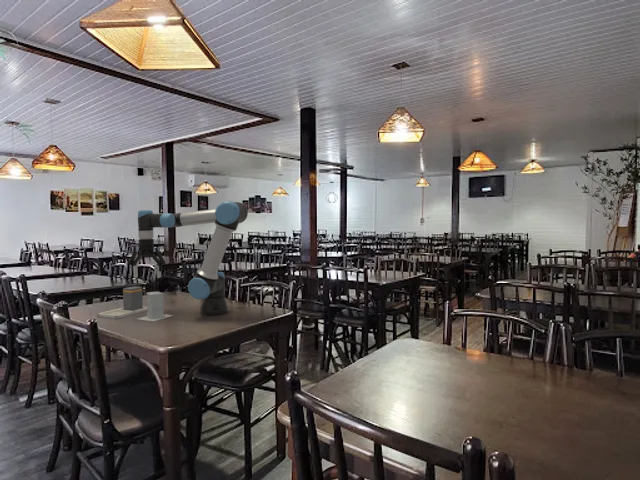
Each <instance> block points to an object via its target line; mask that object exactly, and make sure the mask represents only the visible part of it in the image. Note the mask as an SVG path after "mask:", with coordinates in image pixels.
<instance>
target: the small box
mask: <svg viewBox="0 0 640 480" xmlns="http://www.w3.org/2000/svg"><path fill="white" fill-rule="evenodd" d="M146 307H147V311H146V316H147V317H149V318H151V319H156V318H162V317H164V293H163V292H160V291H149V292H146Z"/></svg>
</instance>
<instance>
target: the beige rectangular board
mask: <svg viewBox="0 0 640 480" xmlns="http://www.w3.org/2000/svg"><path fill="white" fill-rule="evenodd" d="M142 313H147V306H144V305H143V309H139V310H135V311H129V310H124V306H123V307H120V308H114V309H110V310H107V311H103V312H99V313H96V317H97V318H104V319H110V320H119V319H122V318H126V317H130V316H134V315H138V314H142Z"/></svg>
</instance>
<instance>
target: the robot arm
mask: <svg viewBox="0 0 640 480" xmlns="http://www.w3.org/2000/svg"><path fill="white" fill-rule="evenodd" d="M248 212H249V211H248V208H247V206H245V204H244V203H242V202H240V201H239V202H238V201H230V200H227V201H222V202H220V203H219V204H218V205H217V206H216V208H213V209H212V208H211V209H203V210H196V211H186V212H179V213H177V212H176V213H167V212H165V213H154V212H153V210H152V209H151V210H150V209H146V210H145V209H143V210H138V211H137V223H138V224H137V226H138V232H137V233H138V247H133V249H132V250H133V251H132V254H131V255H130V259H129V260H128V265H130V266H131V272H133V278H134V279H136V278H138V276H139V273H138V268H139V267H138V265H137V264H138V263H139V261H140V260H141V259H142V258H143V257H145V256H146V257H151V259H153V261H154V262H155V263H156V264H157V266H156V278H157V279H160V278H162V272H163V265H165V264H166V263H167V262H166V261H165V258H164V256H163V255H162V252H161V249H160V247H159V246H158V247H155V241H154V228H161V229H162V228H165V229H168V228H180V227H186V226H187V227H188V226H196V225H204V224H205V225H207V224H215V229H214V232H213V234H212V238H211V240H210V243H209V246H208V249H207V252H206V254H205V256H204V258H203V259H204V260H203V262H202V265H201V267H200V268H199V269H197V270H196V273H195V275H194V277H193V278H191V279H190V280H189V282H188V285H187V290H188V292H189V293H188V294H189V295H190V296H191V297H192V298H193V299H195V300H200V301H201V300H202V303H201V306H200V314H201V315H204V316H205V315H206V316H218V315H223V314H227V313H228V312H229V306H228V304H227V300H226V288H225V287H226V281H225V280H226V277H225V272H223V271H219V269H220V266H221V263H222V261H223V258H224V255H225V252H226V250H227V247H228V245H229V242H230V240H231V236H232V234H233V233H234V232H236V231H237V229H238V226H239V224H242V223H243V222H245V221H246V219H247V218H248V215H249V213H248ZM138 252H139V253H138Z"/></svg>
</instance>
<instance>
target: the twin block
mask: <svg viewBox="0 0 640 480" xmlns="http://www.w3.org/2000/svg"><path fill="white" fill-rule="evenodd" d="M122 297H123V299H122V301H123V302H122V303H123V305H122V306H123V307H124V310H129V311H135V310H139V309H143V306H144V302H143V299H144V298H143V286H135V285H134V286H130V287H129V286H128V287H125V288H124V287H123V288H122Z"/></svg>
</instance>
